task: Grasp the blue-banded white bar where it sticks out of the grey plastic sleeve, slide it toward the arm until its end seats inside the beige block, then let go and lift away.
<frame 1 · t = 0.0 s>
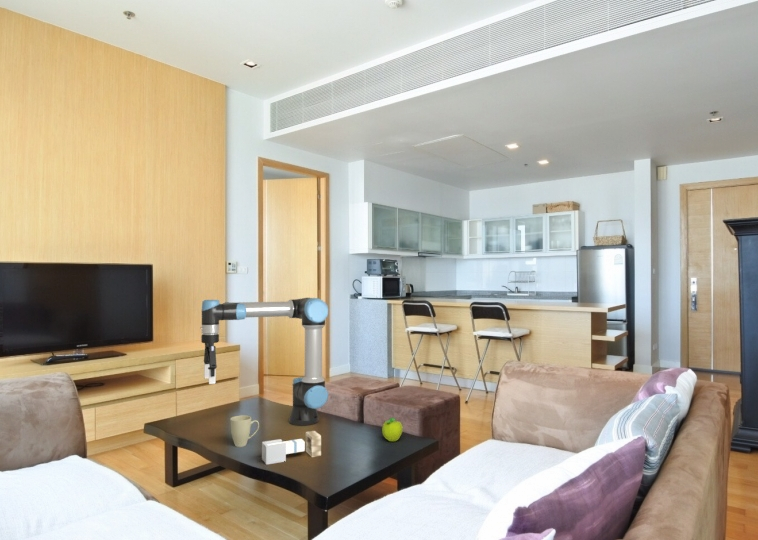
hand: (209, 381, 220), 28 cm above the table, fingers open, 13 cm apart
mug: (243, 445, 218), on the table
sleeve: (273, 460, 199), on the table
fruit: (392, 441, 223), on the table
beige block: (313, 453, 207), on the table
blue-banded white bar: (285, 447, 201), point 4 cm above the table, slide at 0.0 cm
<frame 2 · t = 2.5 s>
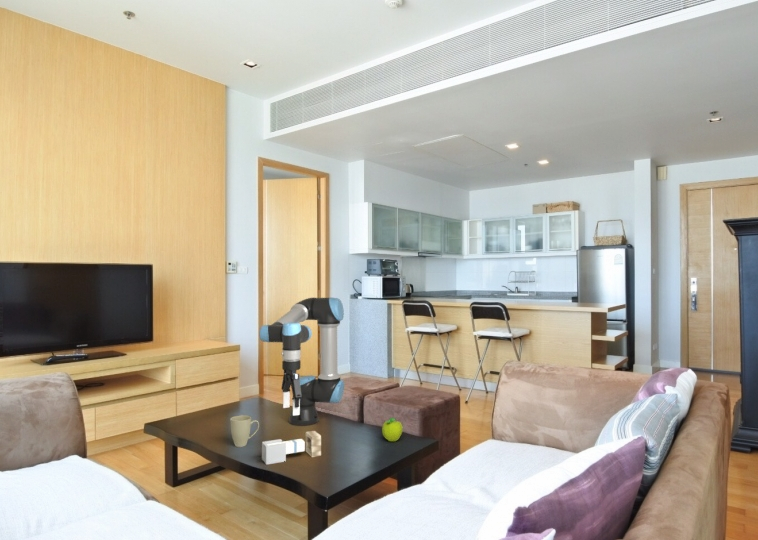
hand: (291, 411, 203), 19 cm above the table, fingers open, 13 cm apart
nothing on the table moved.
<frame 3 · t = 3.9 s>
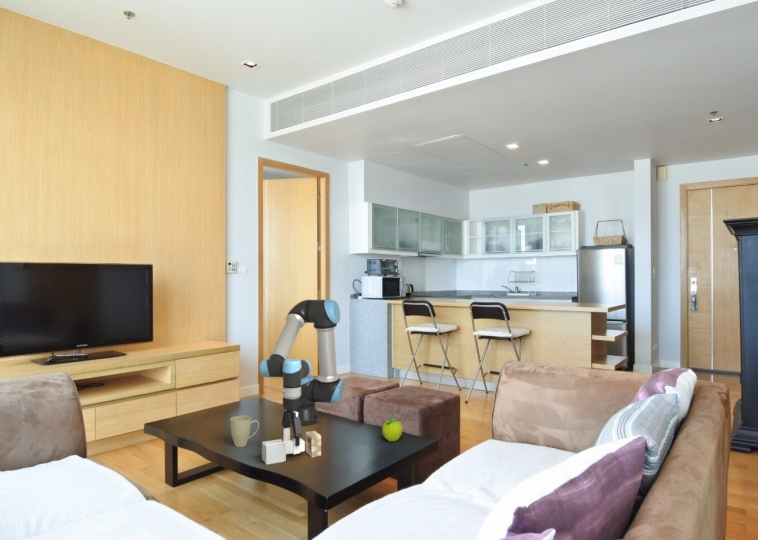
hand: (291, 448, 202), 4 cm above the table, fingers open, 13 cm apart
nothing on the table moved.
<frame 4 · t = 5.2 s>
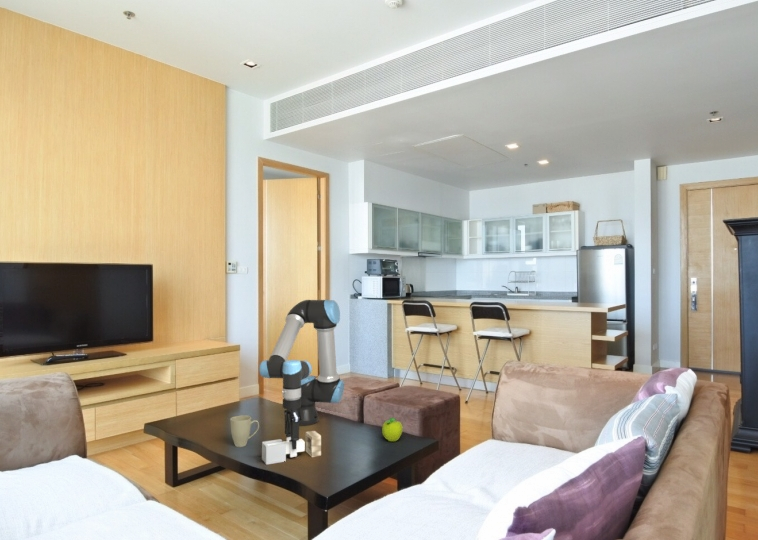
hand: (291, 454, 202), 1 cm above the table, fingers closed on blue-banded white bar, 4 cm apart
blue-banded white bar: (285, 447, 201), point 4 cm above the table, slide at 0.0 cm, touching gripper
everything else where it was.
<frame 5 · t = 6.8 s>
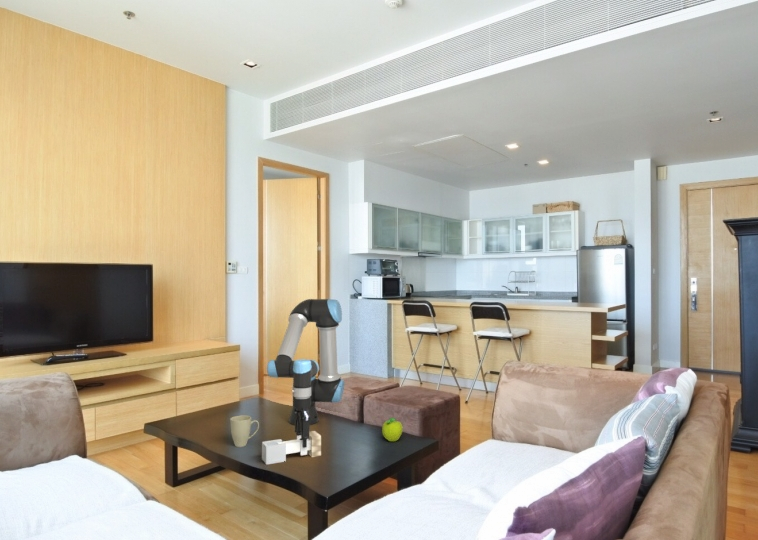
hand: (301, 452, 204), 1 cm above the table, fingers closed on blue-banded white bar, 4 cm apart
blue-banded white bar: (296, 445, 203), point 4 cm above the table, slide at 4.5 cm, touching gripper
everything else where it was.
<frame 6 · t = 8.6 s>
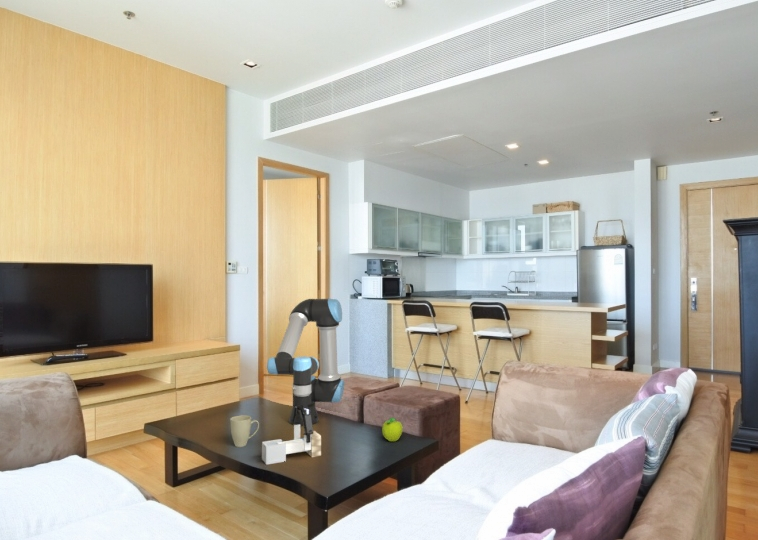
hand: (302, 444, 205), 4 cm above the table, fingers open, 13 cm apart
blue-banded white bar: (296, 445, 203), point 4 cm above the table, slide at 4.5 cm
everything else where it was.
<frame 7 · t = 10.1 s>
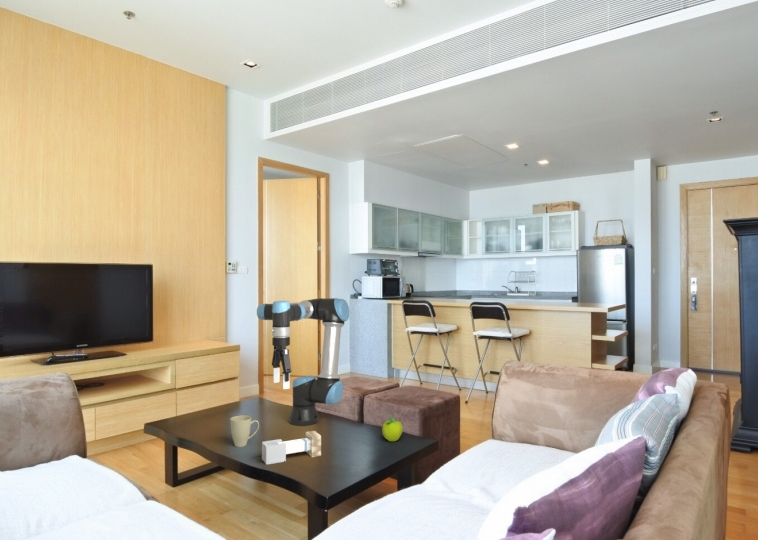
hand: (281, 385, 211), 28 cm above the table, fingers open, 13 cm apart
nothing on the table moved.
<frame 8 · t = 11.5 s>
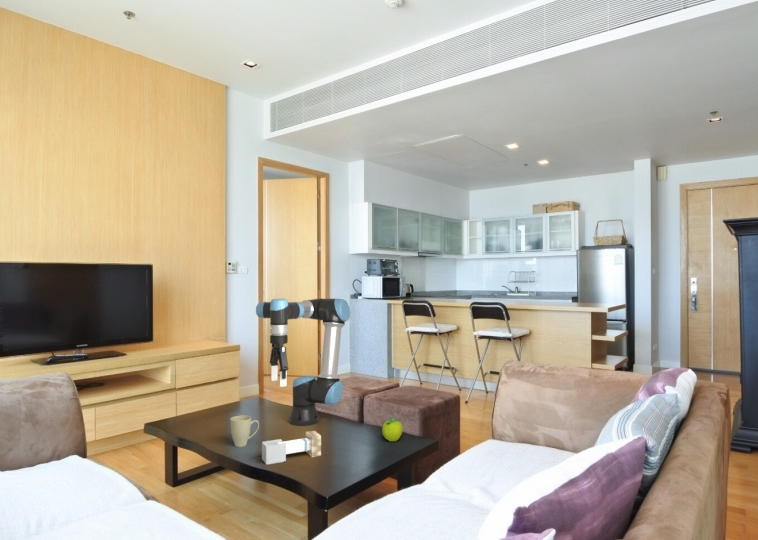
hand: (278, 383, 212), 29 cm above the table, fingers open, 13 cm apart
nothing on the table moved.
at the end: blue-banded white bar slide at 4.5 cm; the gripper is holding nothing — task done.
